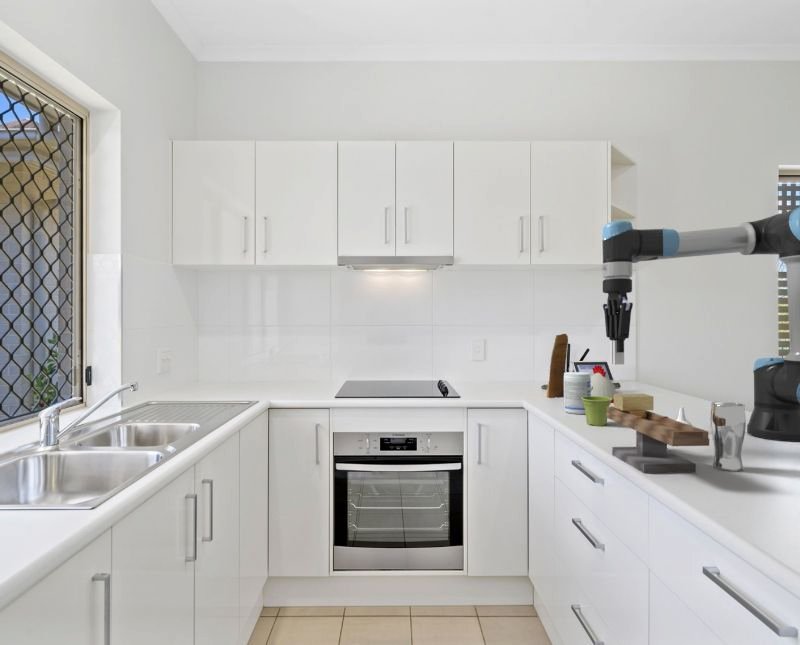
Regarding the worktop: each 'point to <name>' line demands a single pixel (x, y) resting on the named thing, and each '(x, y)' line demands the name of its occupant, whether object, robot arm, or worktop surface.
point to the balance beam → (657, 442)
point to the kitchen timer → (601, 384)
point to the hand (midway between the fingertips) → (617, 363)
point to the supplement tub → (576, 391)
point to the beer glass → (728, 434)
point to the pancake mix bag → (557, 367)
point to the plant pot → (596, 409)
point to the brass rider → (634, 403)
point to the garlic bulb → (682, 417)
